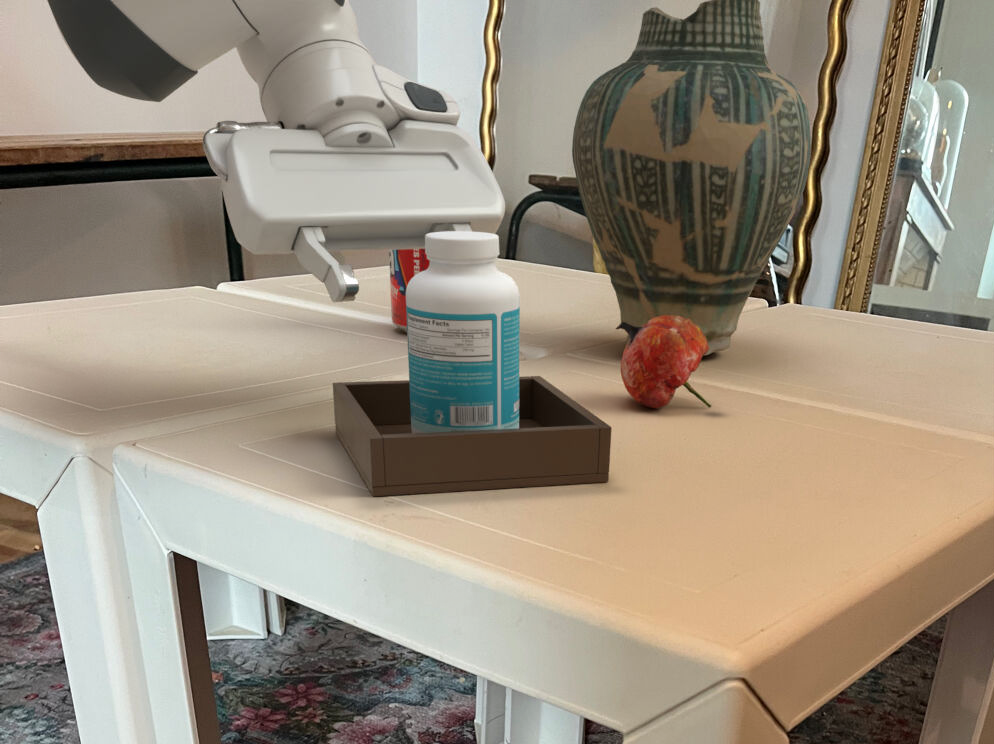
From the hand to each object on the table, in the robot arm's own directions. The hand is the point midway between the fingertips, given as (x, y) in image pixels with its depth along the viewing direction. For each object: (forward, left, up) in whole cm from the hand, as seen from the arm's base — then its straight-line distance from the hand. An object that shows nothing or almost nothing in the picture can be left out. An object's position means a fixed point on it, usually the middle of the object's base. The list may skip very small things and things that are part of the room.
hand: (408, 292), depth 78 cm
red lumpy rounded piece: (+22, +5, -10) cm, 25 cm away
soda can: (+10, +41, -10) cm, 44 cm away
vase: (+32, +26, -10) cm, 43 cm away
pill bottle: (+2, -7, -9) cm, 12 cm away
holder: (+2, -7, -10) cm, 12 cm away
